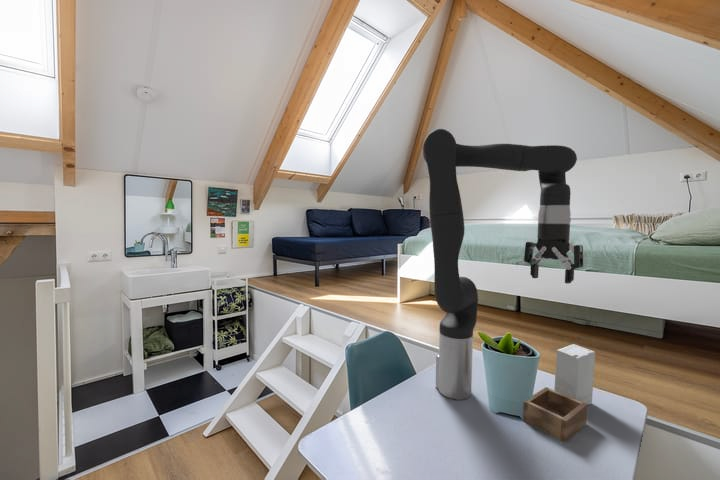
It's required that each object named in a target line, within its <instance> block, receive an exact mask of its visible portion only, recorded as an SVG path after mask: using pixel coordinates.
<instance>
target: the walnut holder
mask: <svg viewBox="0 0 720 480" xmlns="http://www.w3.org/2000/svg"><path fill="white" fill-rule="evenodd" d="M531 396H532V399H531V400H528V401H525V400H524V401H523V409H522V411H523V412H522V421H523V422H525V423H527V424H529V425H531V426H532V427H535V428H536V429H539V430H540V431H542V432H544V433H546V434H547V435H549V436H552V437H554V438H555V439H556V440H560V441H561V442H563V443H565V444H566V443H568V442H569V440H571V438H572V437H574V436H575V435H576V434H577V433H579V431H580V430H581V429H583V428H584V427H585V426H586V425H587V422H588V421H587V419H588V418H587V416H588V405H587V404H585V403H583V402H581V401H578V400H576V399H573V398H571V397H569V396H566V395H564V394H561V393H559V392H557V391H554V389H551V388H549V387H546V386H545V387H544V388H543V389H541V390H539V391H538V392H536V393H534V394H532V395H531ZM561 415H562V416H561Z"/></svg>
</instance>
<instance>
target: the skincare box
mask: <svg viewBox="0 0 720 480" xmlns="http://www.w3.org/2000/svg"><path fill="white" fill-rule="evenodd" d="M555 357H556V358H555V360H556V361H555V374H554V376H555V377H554V389H553V390H554V391H557V392H559V393H561V394H564V395H566V396H569V397H571V398H573V399H576V400H578V401H581V402H583V403H585V404H587V406H588V405H590V404H591V403H593V395H594V394H593V391H594V378H595V377H594V376H595V362H596V351H594V350H591V349H589V348H586V347H583V346H580V345H577V344H575V343H572V344H570V345H567V346H565V347H561V348H558V349H557V350H556V356H555Z"/></svg>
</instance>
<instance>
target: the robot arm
mask: <svg viewBox="0 0 720 480" xmlns="http://www.w3.org/2000/svg"><path fill="white" fill-rule="evenodd" d="M422 154H423V159H424V161H425V162H426V163H425V164H426V167H427V171H428V175H429V176H428V177H429V199H428V200H429V220H430V221H429V222H430V231H431V238H432V239H431V240H432V249H433V250H432V251H433V263H434V280H433V281H434V296H435V297H434V298H435V301H436V303H437V305H438V307H439V308H440V310H441V311H443V312H444V313H446V314H445V315H444V317H443V318H442V320H441V321H440V322H439V332H438V333H439V335H438V336H439V337H438V338H439V340H438V342H439V343H438V355H436V357H435V388H437V390H438V392H439V393H440V394H441V395H443V396H445V397H446V398H449V399H452V400H466V399H469V398H470V397H471V396H472V384H473V382H472V380H473V348H474V347H473V346H474V345H473V343H474V342H473V341H474V330H475V329H474V328H475V327H476V324H477V320H478V319H477V317H478V316H477V315H478V305H479V303H478V302H479V297H478V296H479V294H478V289H477V286H476V284H475V283H474V281H472V280H471V279H470V278H469V277H466V276H460V274H459V271H460V270H459V255H460V253H461V252H460V251H461V249H462V245H463V241H464V237H465V220H464V219H465V218H464V211H463V203H462V198H461V192H460V188H459V184H458V178H457V167H459V168H460V167H462V168H464V167H469V168H473V167H474V168H487V169H497V170H506V171H515V172H528V171H537V172H538V180H539V186H540V187H539V188H540V195H539V196H540V197H539V209H538V215H537V217H538V218H537V236H536V237H537V242H533V241H527V242H525V244H524V254H523V255H524V256H523V262H525V263H528V264H529V265H530V277H531V278H532V279H538V278H539V266H540V265H539V263H541V262H542V260H544V259H552V260H559V261H560V262H561V263H562V264H563V266H564V267H565V270H564V271H565V273H564V283H565V284H572V282H574V279H575V270H576V269H579V268H584V246H583V244H574V245H572V244H570V236H571V234H570V231H571V221H572V218H571V206H570V205H571V187H570V185H569V184H567V182H566V181H567V179H566V177H567V175H566V173H567V172H569V171H570V170H572V169H573V168H574V166H575V165H576V163H577V160H578V157H577V153H576V152H575V150H573V149H572V148H571V147H568V146H565V145H559V144H558V145H556V144H555V145H552V144H551V145H550V144H549V145H548V144H547V145H526V144H515V143H493V144H483V145H481V144H480V145H467V144H466V145H464V144H459V143H457V141H456V138H455V137H454V135H453V134H452V133H451V132H450V131H449V130H446V129H443V128H437V129H434V130H432V131H431V132H429V134H428V135H427V136H426V137H425V139H424V141H423V145H422ZM535 249H537V250H538V251H537V253H536V254H535V255H534V256H533V254H534V250H535ZM569 251H571V253H572V254H573V261H572V258H571V257H570V255H568V252H569Z"/></svg>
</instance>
